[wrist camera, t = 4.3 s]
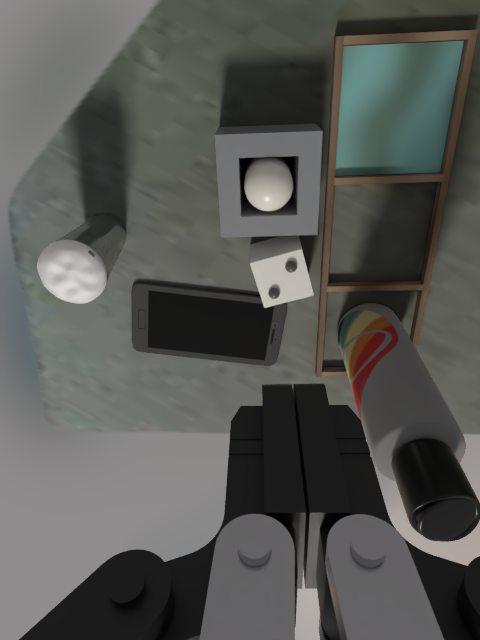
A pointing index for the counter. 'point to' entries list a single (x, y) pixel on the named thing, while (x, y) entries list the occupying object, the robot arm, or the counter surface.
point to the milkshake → (82, 259)
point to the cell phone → (205, 324)
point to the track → (393, 135)
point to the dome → (268, 183)
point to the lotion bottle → (407, 423)
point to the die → (280, 270)
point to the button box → (269, 143)
